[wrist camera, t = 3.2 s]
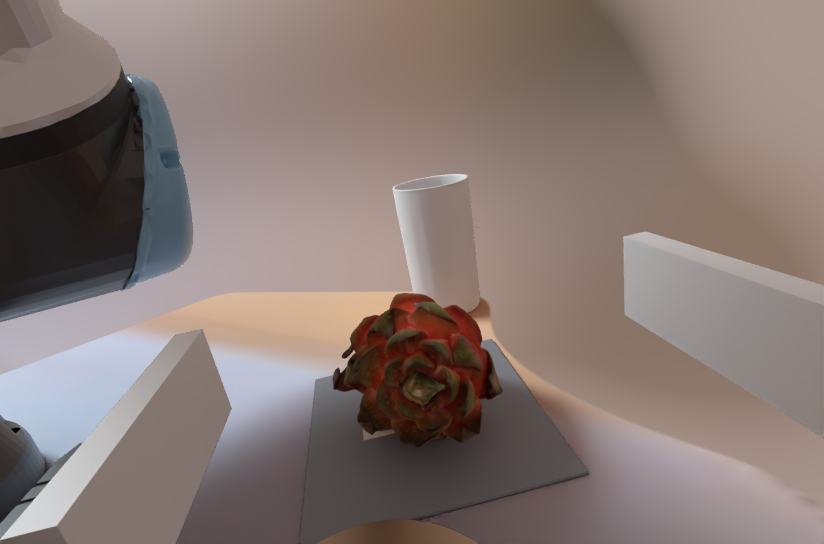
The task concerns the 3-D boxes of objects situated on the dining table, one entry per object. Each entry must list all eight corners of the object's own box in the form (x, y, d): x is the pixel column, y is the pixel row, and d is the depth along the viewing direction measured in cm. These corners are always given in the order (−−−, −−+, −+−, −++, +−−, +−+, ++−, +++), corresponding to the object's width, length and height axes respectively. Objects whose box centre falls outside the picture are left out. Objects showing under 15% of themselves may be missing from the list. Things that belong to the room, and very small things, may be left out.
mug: (497, 304, 40) (483, 175, 36) (435, 328, 37) (413, 192, 33) (443, 277, 49) (427, 171, 45) (390, 295, 46) (368, 185, 42)
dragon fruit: (476, 521, 21) (390, 419, 32) (568, 375, 22) (455, 326, 33) (342, 442, 18) (298, 358, 29) (459, 278, 19) (375, 258, 30)
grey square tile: (299, 551, 19) (298, 548, 19) (316, 381, 32) (315, 378, 32) (588, 473, 21) (588, 470, 21) (491, 340, 34) (491, 338, 34)
